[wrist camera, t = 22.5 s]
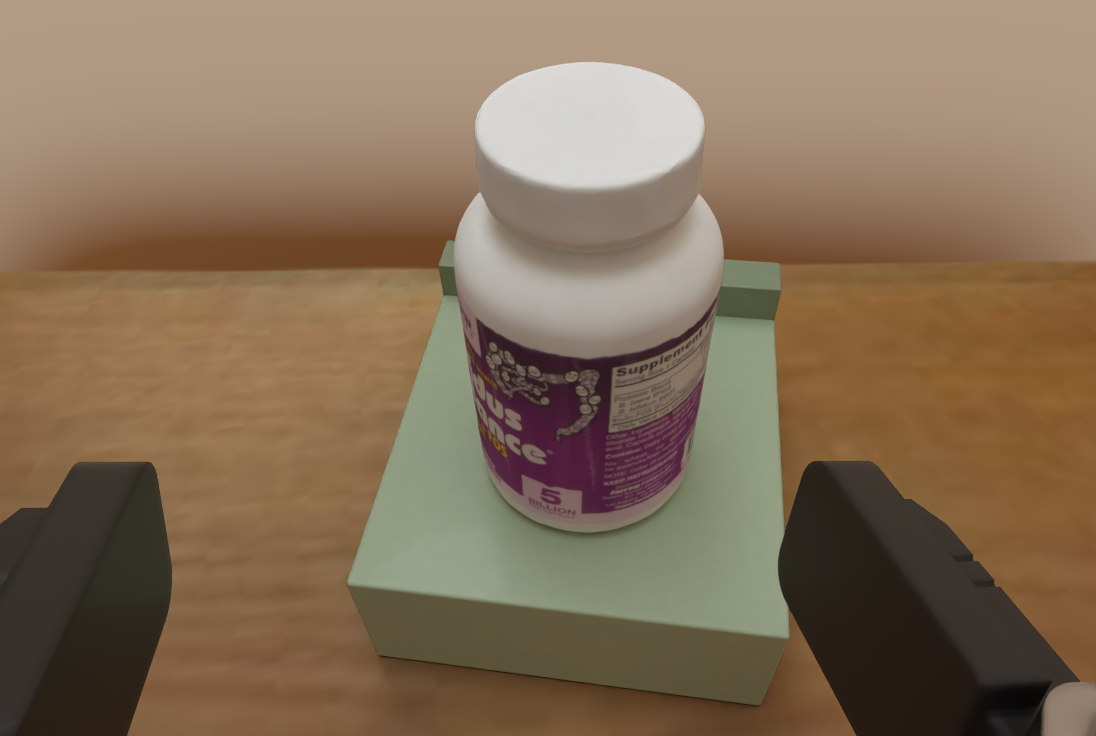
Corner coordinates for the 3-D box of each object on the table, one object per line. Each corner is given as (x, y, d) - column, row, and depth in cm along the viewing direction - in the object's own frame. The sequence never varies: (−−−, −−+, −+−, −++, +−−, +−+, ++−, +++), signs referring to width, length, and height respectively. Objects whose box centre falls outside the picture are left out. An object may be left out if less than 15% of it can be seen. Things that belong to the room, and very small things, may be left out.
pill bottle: (440, 448, 22) (367, 115, 14) (586, 345, 24) (587, 13, 17) (585, 587, 19) (585, 259, 12) (735, 454, 21) (811, 114, 14)
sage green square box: (377, 656, 22) (332, 557, 18) (465, 355, 29) (446, 239, 25) (761, 707, 21) (801, 613, 17) (753, 379, 28) (780, 262, 24)
